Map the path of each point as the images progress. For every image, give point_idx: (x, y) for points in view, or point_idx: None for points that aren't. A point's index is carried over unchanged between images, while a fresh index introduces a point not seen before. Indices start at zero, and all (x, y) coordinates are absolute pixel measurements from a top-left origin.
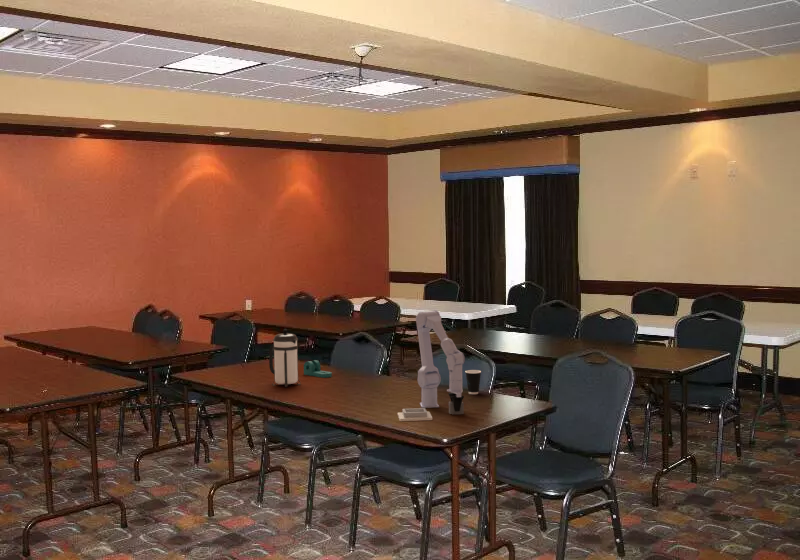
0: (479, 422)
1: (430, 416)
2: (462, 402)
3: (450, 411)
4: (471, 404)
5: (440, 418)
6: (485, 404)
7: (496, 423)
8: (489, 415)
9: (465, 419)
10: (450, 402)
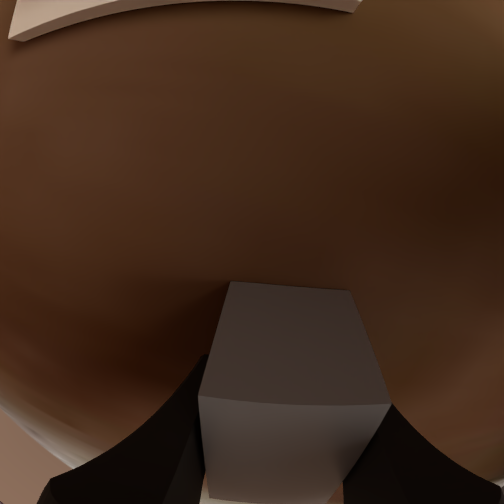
0: (3, 376)
1: (54, 7)
2: (233, 498)
3: (223, 305)
4: (477, 446)
5: (58, 123)
6: None
7: (15, 419)
8: None
9: (40, 343)
10: (281, 417)
